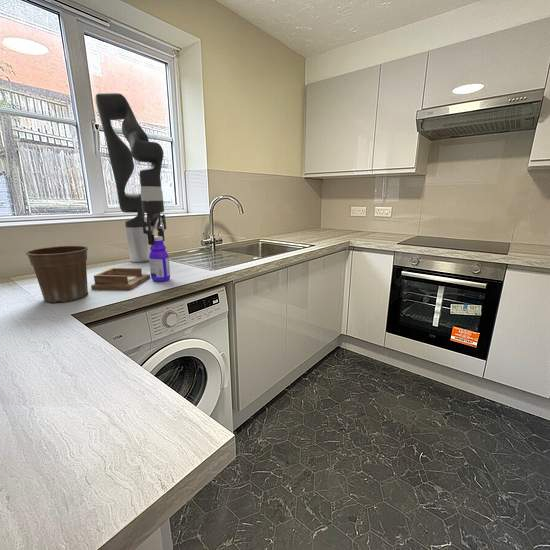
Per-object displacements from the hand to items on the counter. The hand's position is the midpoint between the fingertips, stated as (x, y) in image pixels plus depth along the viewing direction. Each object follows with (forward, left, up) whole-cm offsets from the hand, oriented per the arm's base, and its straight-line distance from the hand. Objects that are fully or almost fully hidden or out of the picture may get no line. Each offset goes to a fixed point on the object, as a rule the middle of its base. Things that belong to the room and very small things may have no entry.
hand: (156, 243), depth 114 cm
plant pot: (+21, -23, -15) cm, 34 cm away
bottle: (0, 0, -15) cm, 15 cm away
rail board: (+5, -13, -15) cm, 20 cm away
